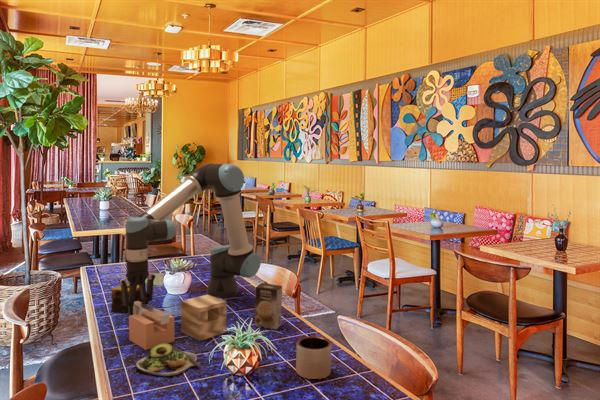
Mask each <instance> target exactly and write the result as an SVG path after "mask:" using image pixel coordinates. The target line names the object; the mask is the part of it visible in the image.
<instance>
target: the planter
mask: <svg viewBox="0 0 600 400" xmlns="http://www.w3.org/2000/svg"><path fill="white" fill-rule="evenodd" d="M295 354H296V359H295V360H296V361H295V372H296V374H297V375H299V376H300V377H302V378H303V379H306V378H307V379H306V380H310V379H319V380H323V379H326V378H327V377H329V376H330V375H331V372H332V342H331V340H330V339H328V338H326V337H323V336H318V335H314V336H313V335H311V336H304V337H301V338H299V339H298V340H297V341H296V353H295ZM322 378H323V379H322Z"/></svg>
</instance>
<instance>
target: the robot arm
mask: <svg viewBox="0 0 600 400" xmlns="http://www.w3.org/2000/svg"><path fill="white" fill-rule="evenodd" d="M244 183H245V174H244V173H243V171H242V169H241V168H240V167H239V166H237V165H236V164H231V163H205V164H203V165H201V166H199V167H198V168H196V169H195V170H193V171H192V172H190V173H189V174H188V175H186V176H185V177H184V180H183V182H181V183H180V184H179V185H177V186H176V187H174V188H173V189H172V190H171V191H169V192H168V193H167V194H165V195H164V196H163V197H162V198H160V199H159V200H158V201H156V202H155V203H154V204H152V205H151V206H150V207H149V208H148V209H146V210H145V211H143V213H141V214H140V215H138V216H131V217H129V218H127V219H126V221H125V224H124V228H125V229H124V230H125V246H126V247H125V248H126V251H125V252H126V255H125V256H126V257H125V258H126V259H125V260H126V265H125V266H126V274H125V277H124V278H122V279H121V278H120V279H119V280H118V282H119V286H120V285H121V291H122V301H123V305H125V306H128V313H127V314H128V316H130V315H134V314H137V313H136V306H134V299H135V292H136V288H137V285H139V288H140V294H141V300H142V303H144V304H146V305H148V304H149V302H152V301H153V294H154V285H153V281H154V279H155V275H153V274H149V273H150V271H148V268H149V267H148V266H149V261H148V258H149V243H151V242H159V241H167V240H171V239H173V238H174V237H175V236H176V234H177V227H176V224H175V222H174V221H173V220H171V219H167V218H168V217H169V216H171V215H172V214H173V213H175V212H176V211H177V210H178V209H179V208H181V206H183V205H184V204H185V203H186V202H188V201H189V200H190V199H191V198H193V197H194V196H195V195H200V194H201V193H202V192H204V191H207V190H214V196H215V198H216V199H218V200H219V203H220V208H221V211H222V216H223V220H224V225H225V230H226V234H227V239H228V244H229V245H228V244H226V245H225V244H224V245H219V246H218V245H217V246H213V247H211V249H210V255H209V259H210V260H209V265H210V268H209V269H210V270H209V271H210V275H209V276H210V278H209V281H208V284H207V287H206V295H207V294H208V295H211V296H213V297H216V298H229V297H233V296H236V295H237V294H239V286H238V283H237V280H236V277H235V276H238V277H242V278H248V279H250V278H253V277H255V276H256V274H257V273H258V271H259V269H260V267H261V265H262V264H261V263H262V261H261V259H262V258H261V257H260V255H259V254H258V253H256V252H255V251H254V246H253V245H252V244H250V243H249V237H248V235H247V228H246V224H245V220H244V215H243V209H242V206H241V200H240V194H241V193H242V188H243V187H244ZM146 279H148V280H147V284H146V283H145V280H146ZM128 282H129V283H128ZM127 284H129V287H130V289H129V297H128V289H127ZM140 316H141V315H140ZM142 317H143V316H142ZM144 318H145V317H144Z"/></svg>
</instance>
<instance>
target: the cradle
mask: <svg viewBox="0 0 600 400" xmlns="http://www.w3.org/2000/svg"><path fill="white" fill-rule="evenodd" d="M157 309H158V310H160V311H162V312H164V311H163V310H161V309H159V308H157ZM168 314H169V323H167V324H163V325H160V324H158V323H156V322H154V321H152V320H150V319H148V318H144V317H142V316H140V315H139V314H137V313H136V314H134V315H128V332H129V333H128V339H129V341H131V342H132V343H133V344H135V345H137V346H138V347H140V348H142V349H143V350H145V351H147V350H151V349H152V348H153V347H154V346H156V345H158V344H161V343H168V344H170V343H174V342H175V338H176V337H175V335H176V334H175V316H174V315H172V314H170V313H168Z"/></svg>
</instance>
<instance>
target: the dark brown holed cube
mask: <svg viewBox="0 0 600 400" xmlns="http://www.w3.org/2000/svg"><path fill="white" fill-rule="evenodd" d="M129 284H130V283H127V289H128V297H129V289H130V287H129ZM135 301H139V302H142V300H141V294H140V288H139V285H137V288H136V292H135V299H134V302H135ZM111 312H113V313H117V314H118V313H119V314H128V306H125V305H123V301H122V291H121V285H120V284H119V285H118V286H115V287H114V288H111Z"/></svg>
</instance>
